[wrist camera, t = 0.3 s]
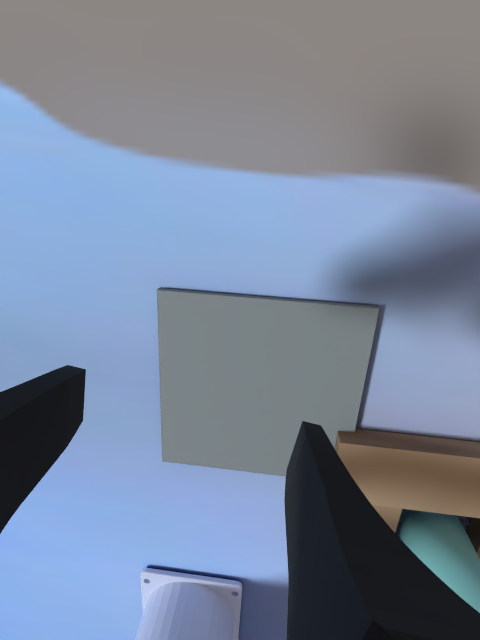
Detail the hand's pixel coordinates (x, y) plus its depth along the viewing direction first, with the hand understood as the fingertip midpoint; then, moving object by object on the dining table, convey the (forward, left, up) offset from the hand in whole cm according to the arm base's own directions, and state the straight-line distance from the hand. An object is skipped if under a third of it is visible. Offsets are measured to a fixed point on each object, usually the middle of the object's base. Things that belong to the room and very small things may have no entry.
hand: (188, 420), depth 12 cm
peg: (-14, -14, -10) cm, 22 cm away
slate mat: (-5, -2, -10) cm, 11 cm away
